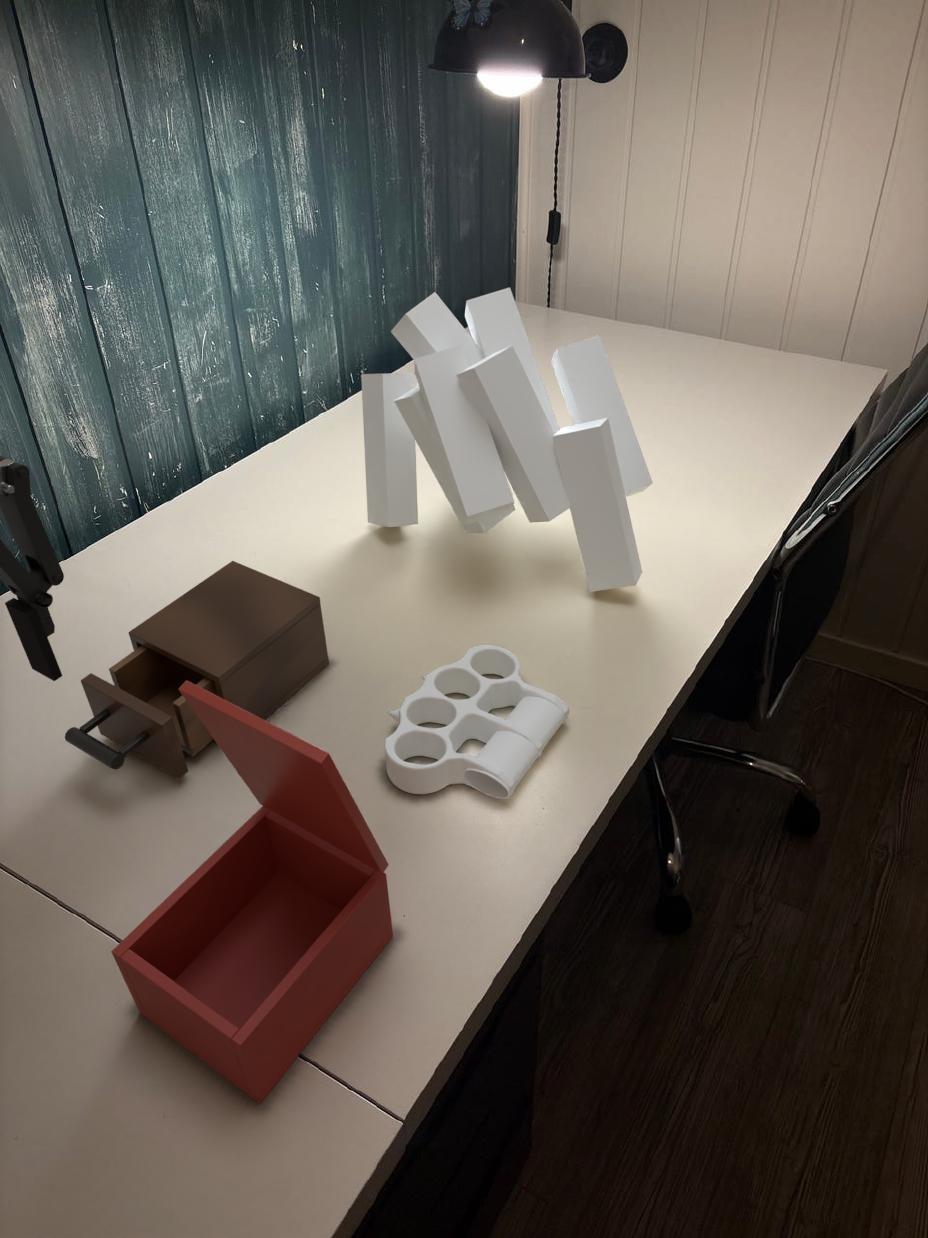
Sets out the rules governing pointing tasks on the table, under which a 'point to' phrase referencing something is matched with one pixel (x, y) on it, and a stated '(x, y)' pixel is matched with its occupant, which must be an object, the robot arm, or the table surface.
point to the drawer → (143, 713)
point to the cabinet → (242, 636)
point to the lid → (287, 775)
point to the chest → (257, 949)
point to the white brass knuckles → (472, 726)
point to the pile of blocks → (505, 433)
